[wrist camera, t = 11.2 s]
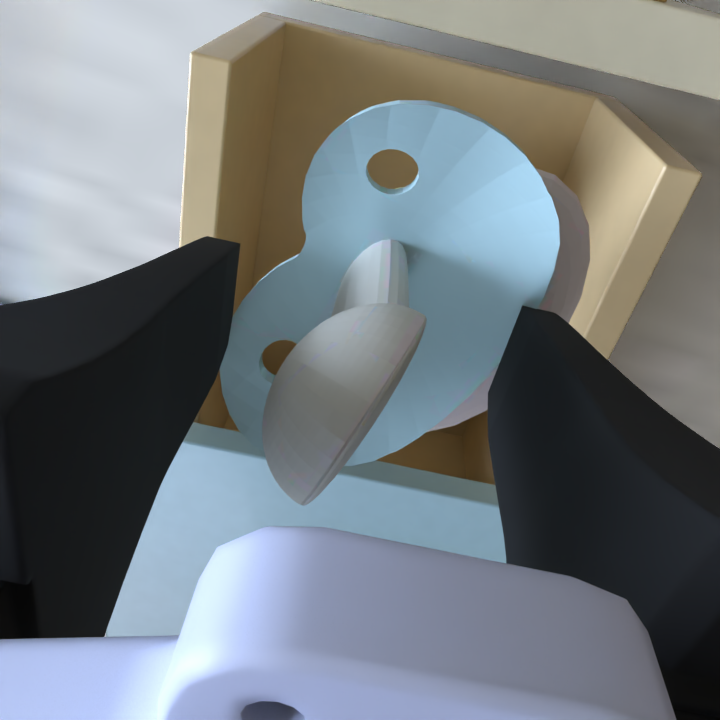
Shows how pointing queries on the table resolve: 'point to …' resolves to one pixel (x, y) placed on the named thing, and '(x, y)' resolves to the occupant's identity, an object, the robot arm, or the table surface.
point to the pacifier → (399, 292)
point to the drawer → (398, 169)
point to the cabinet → (284, 519)
